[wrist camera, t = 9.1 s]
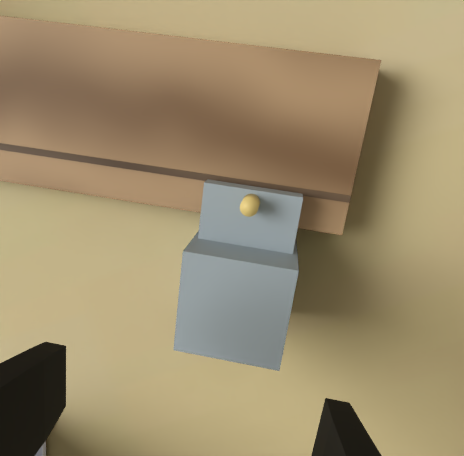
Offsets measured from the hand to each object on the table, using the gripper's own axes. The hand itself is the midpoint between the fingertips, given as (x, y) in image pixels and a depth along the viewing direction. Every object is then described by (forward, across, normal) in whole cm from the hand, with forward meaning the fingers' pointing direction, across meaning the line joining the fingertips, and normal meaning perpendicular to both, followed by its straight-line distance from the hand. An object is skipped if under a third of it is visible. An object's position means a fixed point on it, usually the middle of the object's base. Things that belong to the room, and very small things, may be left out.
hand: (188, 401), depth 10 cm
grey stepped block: (+10, -1, -1) cm, 10 cm away
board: (+10, +6, -7) cm, 13 cm away
